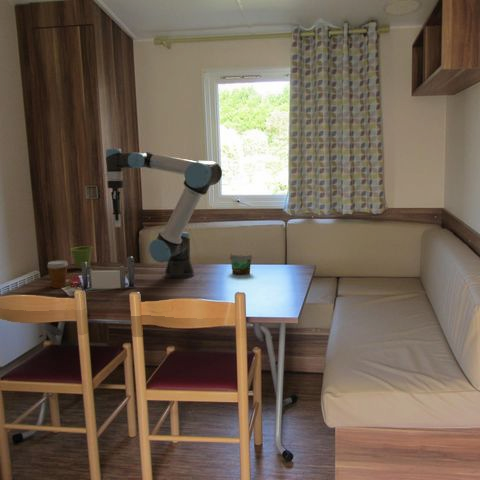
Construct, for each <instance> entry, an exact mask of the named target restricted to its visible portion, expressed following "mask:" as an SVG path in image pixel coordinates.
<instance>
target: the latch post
mask: <svg viewBox="0 0 480 480" xmlns="http://www.w3.org/2000/svg"><path fill="white" fill-rule="evenodd" d="M126 263H127V265H126V266H127V278H128V279H127V281H128V283H127V284H128V285H127V289H135V288H136V287H137V285H136V278H135V275H136V274H135V258H134V257H133V256H131V255H130V256H128V257H127V259H126Z"/></svg>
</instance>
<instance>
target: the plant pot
mask: <svg viewBox="0 0 480 480" xmlns="http://www.w3.org/2000/svg"><path fill="white" fill-rule="evenodd" d="M92 249H93V246H90V245H89V246H87V245H86V246H85V245H84V246H77V247H72V248H70V249H69V250H70V251H71V253H72V256H73V259H74V263H75V267H76V269H78V270H79V269H80V270H82V264H81V262H87V269H89V268H90V266H91V256H92V251H93V250H92Z"/></svg>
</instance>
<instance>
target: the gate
mask: <svg viewBox="0 0 480 480" xmlns="http://www.w3.org/2000/svg"><path fill="white" fill-rule="evenodd" d="M125 268H126V267H125V266H124V265H120V266H119V269H118V270H93V268H87V274H88V287H89V288H90V289H91V288H118V289H127V288H126V286H127V285H126V269H125Z"/></svg>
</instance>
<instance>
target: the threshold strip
mask: <svg viewBox="0 0 480 480" xmlns="http://www.w3.org/2000/svg"><path fill="white" fill-rule="evenodd" d="M91 289H95V290H112V289H119V288H90V290H91ZM125 289H128V285H126V288H125Z"/></svg>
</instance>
